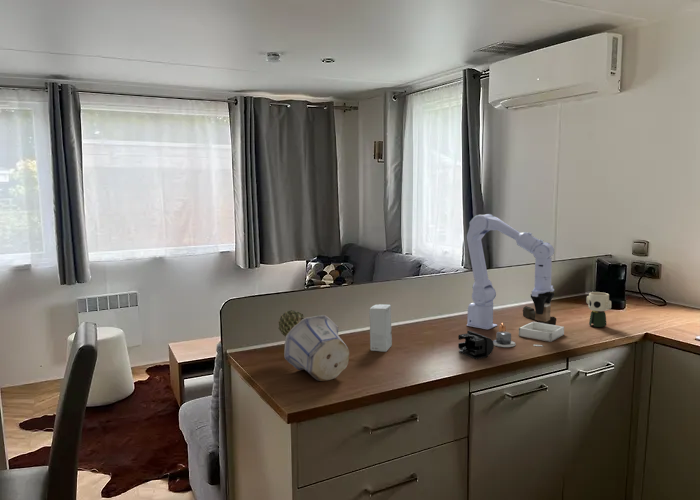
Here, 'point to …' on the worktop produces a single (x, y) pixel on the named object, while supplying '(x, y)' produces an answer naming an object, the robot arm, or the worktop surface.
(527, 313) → the hand tool
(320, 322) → the potted plant
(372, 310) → the skincare box
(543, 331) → the tray
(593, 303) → the character mug
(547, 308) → the block
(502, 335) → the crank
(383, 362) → the worktop surface
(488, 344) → the end cap
